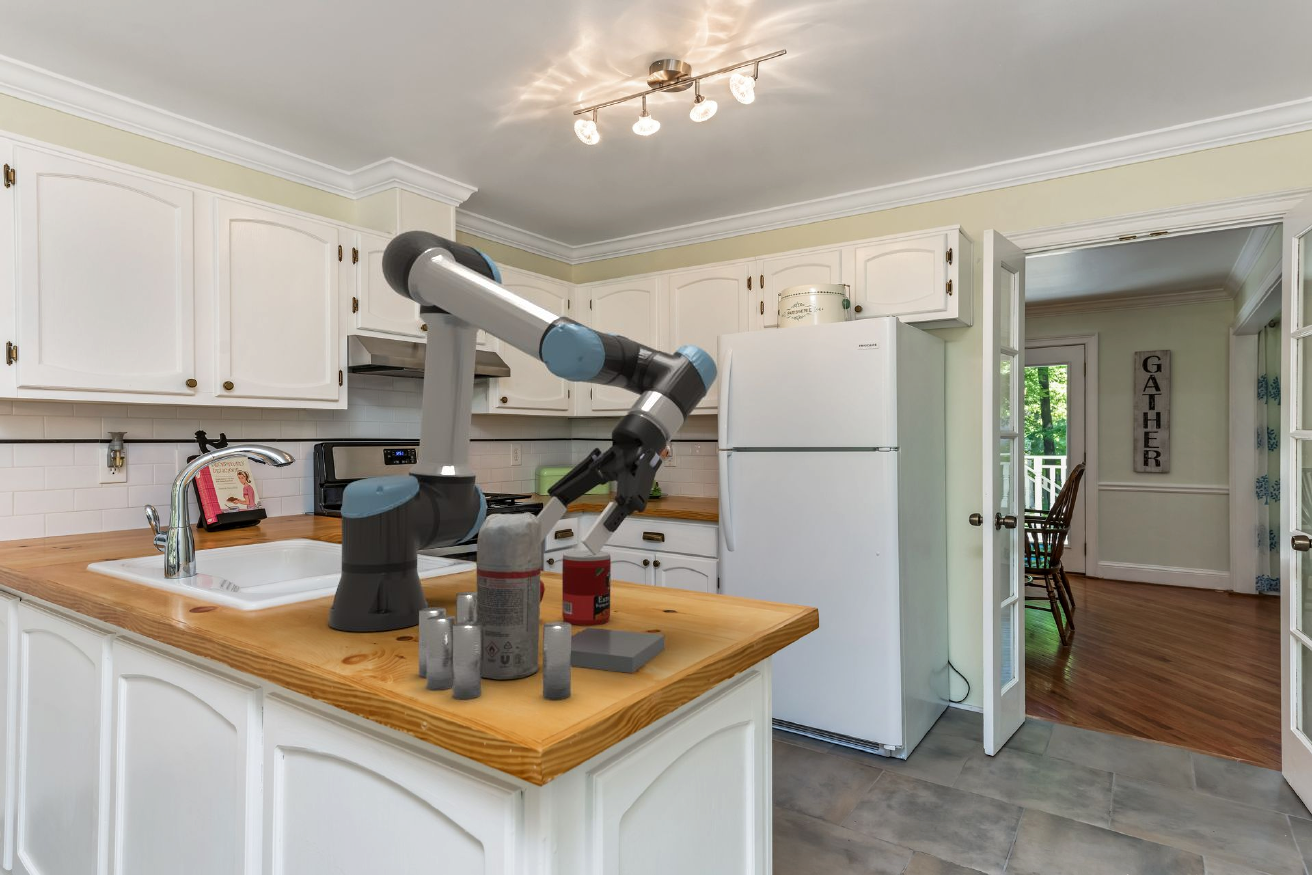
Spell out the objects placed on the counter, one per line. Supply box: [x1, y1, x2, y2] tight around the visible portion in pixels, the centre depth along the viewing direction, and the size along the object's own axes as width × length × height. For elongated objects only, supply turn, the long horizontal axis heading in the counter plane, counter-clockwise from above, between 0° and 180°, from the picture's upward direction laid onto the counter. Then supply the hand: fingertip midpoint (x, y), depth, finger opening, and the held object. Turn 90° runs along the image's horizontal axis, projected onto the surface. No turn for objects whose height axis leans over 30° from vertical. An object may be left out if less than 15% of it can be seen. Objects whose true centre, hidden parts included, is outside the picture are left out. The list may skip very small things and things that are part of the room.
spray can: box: [476, 512, 542, 680], centre depth 95 cm, size 8×8×20 cm
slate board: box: [571, 627, 666, 674], centre depth 102 cm, size 12×12×2 cm
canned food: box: [561, 550, 612, 626], centre depth 123 cm, size 8×8×11 cm
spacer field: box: [418, 591, 572, 701], centre depth 93 cm, size 23×18×8 cm
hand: (558, 543), depth 98 cm, fingers open, 13 cm apart
